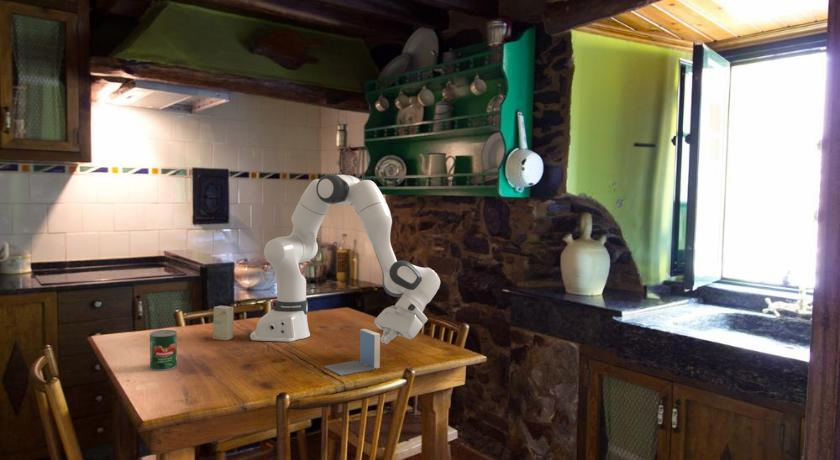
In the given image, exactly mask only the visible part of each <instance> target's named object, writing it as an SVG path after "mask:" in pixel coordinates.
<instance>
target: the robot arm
mask: <svg viewBox="0 0 840 460" xmlns="http://www.w3.org/2000/svg"><path fill="white" fill-rule="evenodd" d="M331 205H339V206H345V205H346V206H347V205H351V206H352V205H353V207H354V209H355V212H356V214H357V216H358V219H359V221H360V223H361V224H362V227H363V228H364V229H363V230H365V233H366V235H367V237H368V239H369V241H370V243H371V245H372V247H373V248H372V249H373V250H374V251H373V252H374V253H375V256H376V257H377V258H376V259H377V261H378V265H379V266H380V268H381V273H382V288H383V290H384V291H385V293H387V294H388V295H389V296H391V297H394V298H399V297H400V298H399V299H398V301H397V302H396V303H395V305H391V306H388V307H386V308H384V309H383V310H382V311H381V312H380V313H379V314H378V316H377V317H375V319H374V325H376V327H377V328H378V329H380V330H382V331H383V332H382V335H381V336H380V343H382V344H383V343H384V344H386V345H388V344H389V343H390V342H391V341H392V340H394V339H395V338H396V337H397V336H399V337H403V338H404V339H406V338H407V339H408V340H413V339H414V338H415V337H416V336H417V334H419V332H420V331H421V329H422V327H423V325H424V324H426V323H427V321H428V320H429V319H428V318H427V316H426V315H425V313H424V310H425V308H426V306H427V304H428V303H430V302H431V301H432V300H433V298H434V296H435V295H436V294H437V292H438V290H439V289H440V285H441V279H440V276H439V275H438V273H437V272H436V271H435V270H433V269H432V268H430V267H421V266H418V265H414V264H412V263H410V262H409V261H407V260H402V259H401V260H397V258H396V255H395V252H394V250H393V247H392V244H391V230H392V224H393V219H392V218H393V217H392V214H391V210H390V207H389V206H388V203H387V201H386V199H385V197H384V195H383V193H382V192H381V189H380V188H379V187H378V186H377V184H376V183H375V182H374V181H372V180H371V179H362V178H360V177H358V176H353V175H351V174H350V175H348V174H336V173H335V174H334V173H328V174H326V175H323V176H321V177H320V178H316V179H313V180H312V181H311V182H310V183H309V185H308V186H307V187H306V188H305V190H304V192H303V193H302V195H301V196H300V199H299V200H298V202H297V205H296V207H295V209H294V211H293V214H292V215H291V223H292V225H293V226H292V231H291V233H290V235H286V236H285V235H284V236H283V235H282V236H278V237H275V238H273V239H271V240H269V241H267V242H266V244H265V246H264V248H263V249H264V250H263V255H264V258H265V260H266V262H267V263H269V264H270V266H271V267H272V269H273V271H274V275H275V280H276V298H274V299H272V300H271V310H270V311H268V312H267V313H265V314H264V315H263V316H262V317H261V318H260V319H258V321H257V324H256V329H255V330H253V331H252V332H251V333H250V335H249V338H250V340H252V341H263V342H266V341H268V342H290V343H291V342H294V341H296V340H303V339H305V338H308V337H310V336H311V333H310V330H309V329H310V328H309V325H308V315H307V314H308V309H309V307H308V305H309V304H308V303H309V302H308V299H307V279H306V278H305V276H304V275H302V273H301V270H300V267H299V264H302V263H306V262H308V261H310V260H312V259H314V258H315V257H316V255H317V254H318V251H319V246H318V245H319V244H318V242H317V236H318V233H319V229H320V227H321V225H322V224H323V222H324V219H325V217H326V215H327V212H328V210H329V208H330V207H331Z"/></svg>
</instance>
